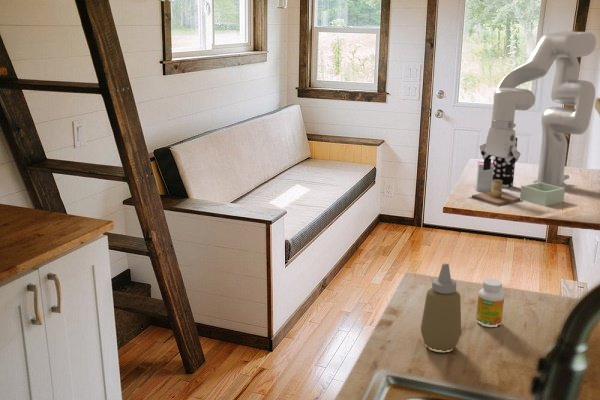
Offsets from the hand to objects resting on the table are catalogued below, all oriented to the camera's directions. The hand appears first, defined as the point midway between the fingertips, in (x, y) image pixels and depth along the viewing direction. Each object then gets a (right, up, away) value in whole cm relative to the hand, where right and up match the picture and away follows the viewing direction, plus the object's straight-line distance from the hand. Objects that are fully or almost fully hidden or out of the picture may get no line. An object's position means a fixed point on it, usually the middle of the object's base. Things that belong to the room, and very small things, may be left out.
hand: (497, 172), depth 232 cm
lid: (0, -10, +3) cm, 10 cm away
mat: (0, -11, +3) cm, 11 cm away
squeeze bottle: (-43, -40, -101) cm, 117 cm away
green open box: (+17, -11, +2) cm, 20 cm away
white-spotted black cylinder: (+9, -5, +24) cm, 26 cm away
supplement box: (0, -7, +17) cm, 18 cm away
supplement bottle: (-30, -37, -91) cm, 102 cm away
